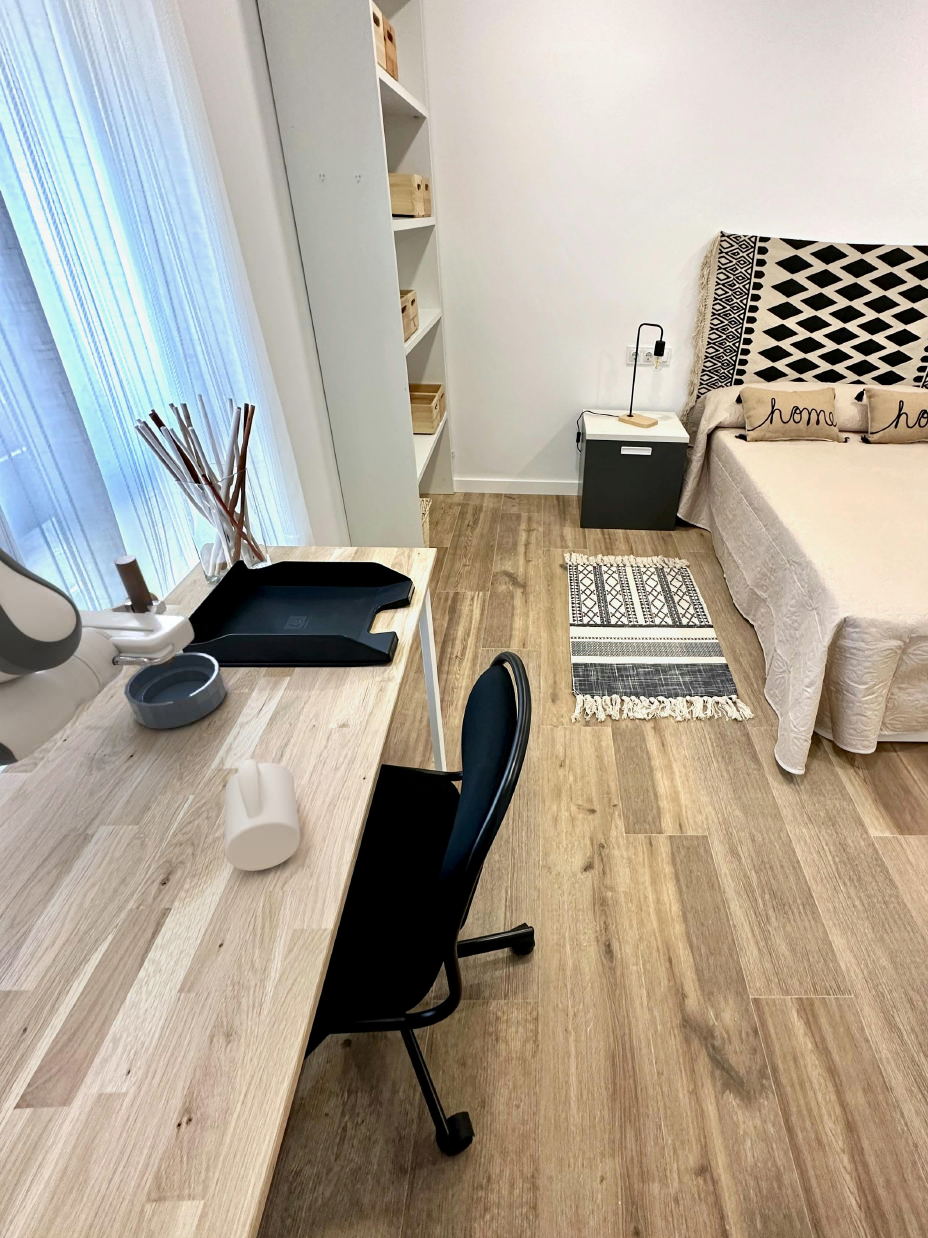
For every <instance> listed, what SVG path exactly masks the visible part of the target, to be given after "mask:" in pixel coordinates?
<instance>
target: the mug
mask: <svg viewBox="0 0 928 1238" xmlns="http://www.w3.org/2000/svg"><path fill="white" fill-rule="evenodd" d="M295 786H296V785H295V779H294V775H293V773H292V772H291V770H290V769H288V768H287V767H286V766H283V764H278V763H274V762H257V760H255V759H253V758H248V759H245V760H243V761H242V762H241V763H240V764H239V766H238V769H237V772H235V773H234V774H233V775H232V776H231V777H230V778H229V780H228V781H227V783H226V786H225V790H224V857H225V860H226V861H227V863H228V864H229V865H231V866H232V867H233V868H236V869H238V870H243V871H249V872H250V871H251V872H252V871H253V872H254V871H255V872H256V871H263V870H266V869H270V868H271V869H272V868H274V867H276V866H278V865H280V864H282V863H284V862H285V861H287V860H288V859H290V857H291V856H293V854H294V853H296V851H297V850H298V849H299V846H300V843H301V833H300V823H299V814H298V805H297V796H296V788H295Z"/></svg>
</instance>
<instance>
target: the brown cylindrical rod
mask: <svg viewBox="0 0 928 1238" xmlns="http://www.w3.org/2000/svg"><path fill="white" fill-rule="evenodd" d="M113 562H114V566H115V568H116V571H117V573H118V575H119V578H120V580H121V583H122V585H123V587H124V590H125V592H126V594H127V598H128V597H129V599H130V602H131V604H132V606H133V609H134V611H135V613H146V612H149V610H148V608H147V605H148V604H149V603H151V602H152V601H153V600H152V598H151V595H150V593H149V592H150V590H149V588H148V585H147V583H146V580H145V578H144V575H143V573H142V569H141V568H140V565H139V562H138V560H137V557H136V556H135V555H131V554H130V555H123V556H120V557H117V558H116V559H115V560H114V561H113ZM174 660H175V656H173V657H172V658H170V659H169V660H167V661H165V662H163V663H161V664H158V665H167V664H169V663H171V662H173V661H174Z"/></svg>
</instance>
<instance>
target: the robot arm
mask: <svg viewBox="0 0 928 1238" xmlns="http://www.w3.org/2000/svg"><path fill="white" fill-rule="evenodd" d="M147 608H148V610H149V612H146V613H135V611H134V609H133V606H132V604H131V602H130V599H127V600H126V599H125V600H123V602H122V603H120V604H117V605H113V606H111V607H108V608H106V609H104V610H87V609H86V610H85V609H78V606H77V605H76V603H75V602H74V601H73V599H72V598H71V597H70V596H69V595H68V594H67V593H66V592H65V591H63V590H62V589H61V588H60V587H58V586H56V585H55V584H54V583H52V582H50V581H48V580H46V579H45V578H43V577H42V576H39V575H37V574H36V573H34V572H33V571H31V570H30V569H28V568H26V567H25V566H23V564H21V563H19V562H18V561H17V560H16V559H14V558H13V557H12V556H11V555H10V554H9V553H7V552H6V551H5V550H4V549H3V548H2V547H0V767H3V766H8V765H13V764H16V763H19V762H21V761H23V760H25V759H26V758H28V757H30V756H31V755H32V754H34V753H35V752H37V751H38V750H39V749H40V748H42V747H43V746H44V745H45V744H47V743H48V742H50V741H51V740H52V739H53V738H54V737H55V736H56V735H57V734H58V733H60V732H61V731H62V730H63V729H64V728H65V727H66V726H67V725H68V724H69V723H70V722H71V721H72V720H73V719H74V718H75V716H76V714H77V712H78V711H79V709H80V708H81V707H83V706H85V705H87V704H89V703H91V702H92V701H93V700H95V699H96V698H97V697H98V696H99V695H100V694H101V693H102V692H103V691H105V689H106V688H108V686H109V685H110V684H112V682H113V681H114V680H116V679H117V678H118V676H120V675H121V674H122V672H123V670H124V666H138V667H145V666H150V665H157V664H161V663H163V662H165V661H167V660H169V659H170V658H172V657H173V656H174V655H176V654H179V653H180V652H181V651H182V650H183V649H185V648H186V647H187V646H189V644H190V643H191V642H192V641H193V640H194V639H195V632H194V628H193V625H192V623H191V621H190V619H189V618H188V616H186V615H181V614H164V613H166V611H167V605H166V603H165V601H164V600H159V601H152V602H151V603H149V604H148V605H147Z"/></svg>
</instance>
